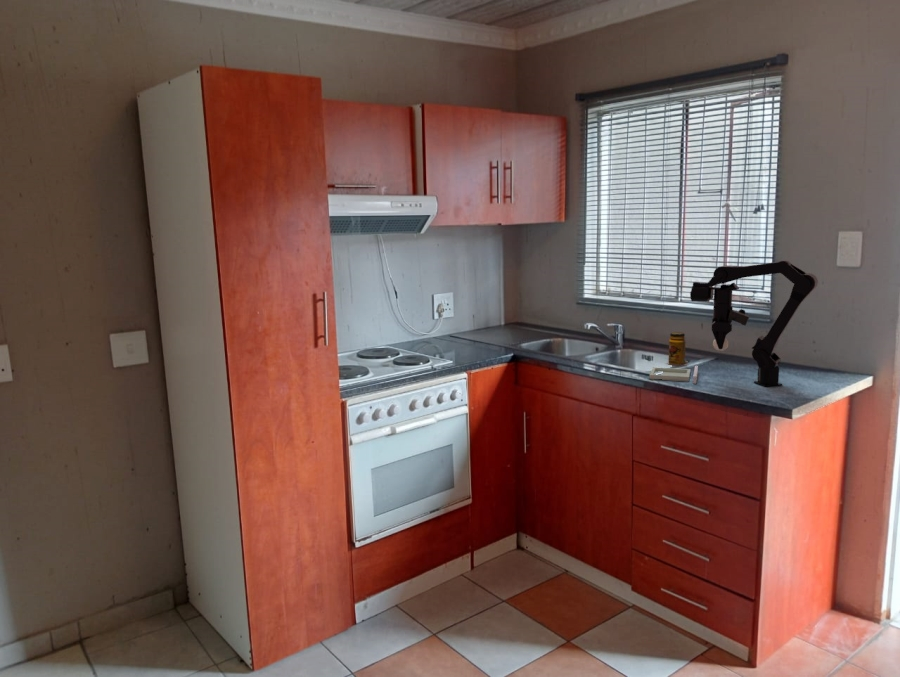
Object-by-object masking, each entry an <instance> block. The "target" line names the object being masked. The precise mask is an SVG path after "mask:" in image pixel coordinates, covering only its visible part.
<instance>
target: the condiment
mask: <svg viewBox="0 0 900 677" xmlns="http://www.w3.org/2000/svg"><path fill="white" fill-rule="evenodd" d="M669 335H670V336H669V337H670V338H669V341H668V359H667V360H668V361H667V362H666V366H667V365H669V366H670V365H671V366H686V367H687V365H688V363H689V361H688V360H686V343H687V342H686V340H685V339H686V337H685V335H686V334H685V333H684V332H679V331H678V332H676V331H674V332H671V333H670V334H669Z"/></svg>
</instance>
